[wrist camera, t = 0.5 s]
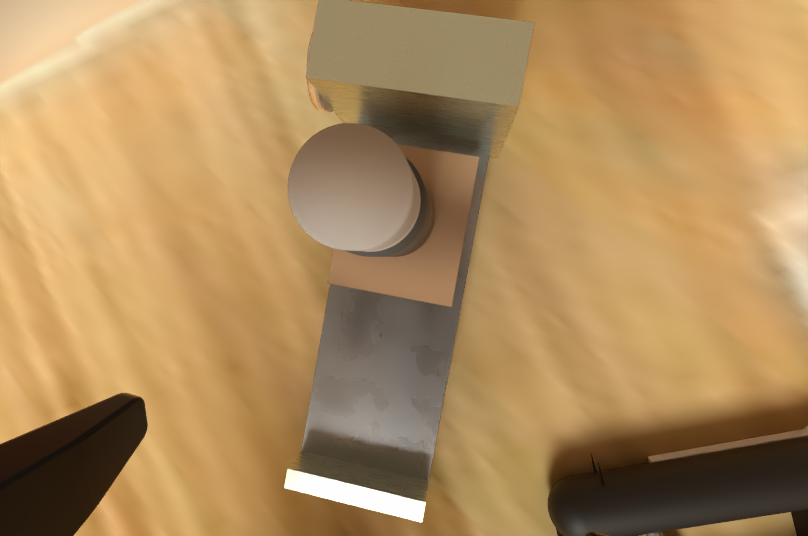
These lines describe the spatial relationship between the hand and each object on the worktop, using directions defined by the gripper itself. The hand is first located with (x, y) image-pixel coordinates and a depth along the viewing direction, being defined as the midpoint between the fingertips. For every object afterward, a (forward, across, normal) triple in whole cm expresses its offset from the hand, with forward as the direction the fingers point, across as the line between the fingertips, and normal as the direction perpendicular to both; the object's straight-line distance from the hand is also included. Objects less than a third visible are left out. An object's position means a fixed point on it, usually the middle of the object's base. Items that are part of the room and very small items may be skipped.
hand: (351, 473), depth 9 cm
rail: (+15, +2, +5) cm, 16 cm away
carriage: (+15, +2, +1) cm, 15 cm away
